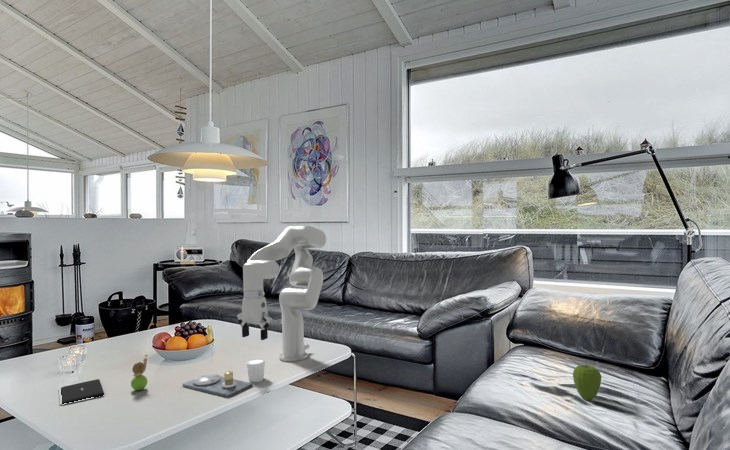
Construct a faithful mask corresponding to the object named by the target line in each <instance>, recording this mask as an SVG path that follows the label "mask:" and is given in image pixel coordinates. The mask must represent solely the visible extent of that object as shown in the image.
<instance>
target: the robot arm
mask: <svg viewBox="0 0 730 450" xmlns="http://www.w3.org/2000/svg"><path fill="white" fill-rule="evenodd" d="M326 243H327V236H326V233H325V231H323V230H321V229H319V228H316V227H315V226H310V225H305V224H302V225H289V226H287V227H286V228H285V229H283V231H282V232H281V233H280V235H278V237H277V238H276V239H275V240H274V241H273V242H272V243H269V244H268V245H265V246H264V247H262V248H260V249H258V250H257V251H255V252H254V253H253V254H252V255H251V256H250V257H249V258H248V260H247V261H246V262H245V263H244V264H243V266H242V279H243V283H242V284H243V298H242V302H241V312H240V313H238V314H237V315H236V316H237V320H238V323H239V324H240V327H241V336H242V338H246V337H248V336H250V327H249V324H251V325H252V324H253V325H259V327H260V328H261V329H260V340H261V341H264V340H268V337H269V336H268V329H270V326H271V325H272V321H273V318H272V317H271V316H270V315H269V313H268V312H269V310H268V304H267V300H266V297H265V294H266V293H265V291H264V280H271V279H274V278H276V277H277V276H279V274H280V265H279V264H278V262H276V261H279V260H282V259H285V258H287V257H288V256H290V254H291V253H292V252H293V250H294V254H295V257H294V258H295V259H294V262H293V264H292V268H291V270H290V273H289V278H288V282H289V284H290V285H291V286H292V287H285V288H283V289H282V290H281V291H280V293H279V295H278V296H279V297H278V302H279V306H280V310H281V331H282V332H281V334H282V335H281V337H282V339H281V340H282V343H281V344H282V353H281V354H279V356H278V358H279V360H280V361H282V362H300V361H303V360H305V359H307V358H308V353H307V352H306V350H308V349H310V347H311V346H310V344H308V343H307V344H304V343H305V342H304V341H305V340H304V337H305V336H304V334H305V333H304V317H303V316H304V315H303V314H302V312H301V310H302V311H303V310H305V311H310V310H311V311H312V310H314V309H315V307H316V306H317V304H318V302H319V299H320V298H319V297H320V295H321V290H322V287H323V283H324V274H323V271H322V269H321V268H320V267H316V266H313V263H314V262H313V261H314V259H313V256H312V254H311V253H310V250H309V249H321V248H323V247H325V246H326Z"/></svg>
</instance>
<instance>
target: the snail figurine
mask: <svg viewBox="0 0 730 450" xmlns="http://www.w3.org/2000/svg"><path fill="white" fill-rule="evenodd" d="M147 363H148V355H147V354H145V355H144V358H143V362H142V361H137V362H135V363H134V365H133V366H132V373H133V375H132V376H133V378H132V379H131V382H130V387H131V389H133V390H134V391H142V390H143V389H146V387H147V385H148V379H147V377H146V375H143V374H144V373H145V371H146V369H147Z"/></svg>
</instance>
